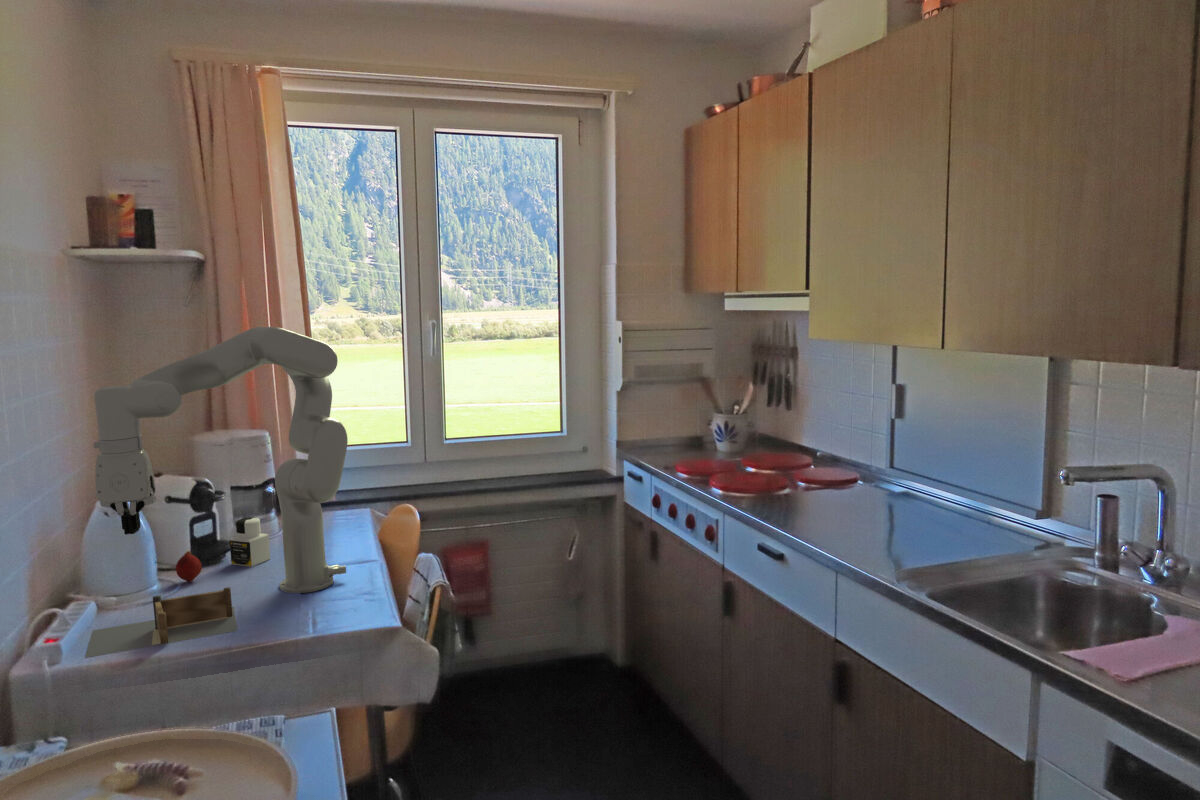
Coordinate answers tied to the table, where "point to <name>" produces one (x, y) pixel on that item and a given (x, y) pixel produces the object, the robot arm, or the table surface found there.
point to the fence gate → (161, 623)
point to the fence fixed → (195, 607)
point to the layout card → (153, 635)
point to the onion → (188, 567)
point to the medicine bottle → (249, 543)
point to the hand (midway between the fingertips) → (132, 532)
